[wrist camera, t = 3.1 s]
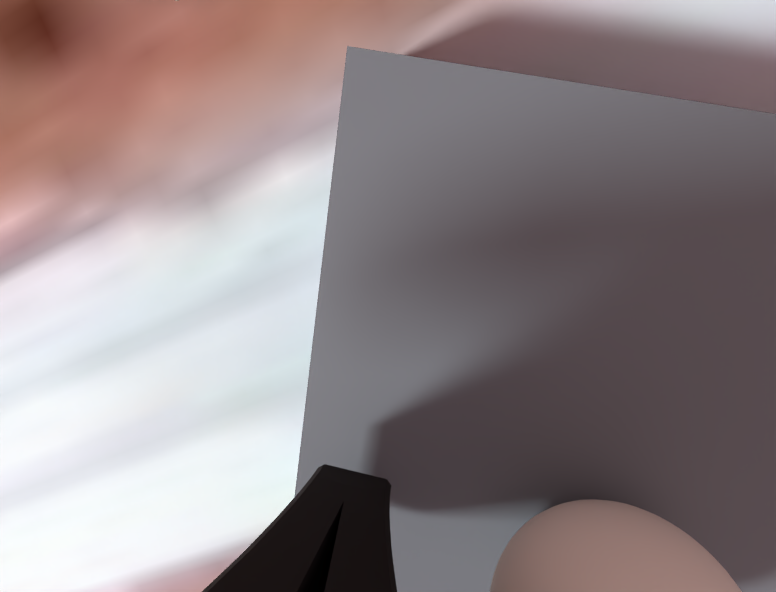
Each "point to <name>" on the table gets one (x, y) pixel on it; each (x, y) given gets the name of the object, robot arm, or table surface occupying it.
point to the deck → (546, 312)
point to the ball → (606, 553)
